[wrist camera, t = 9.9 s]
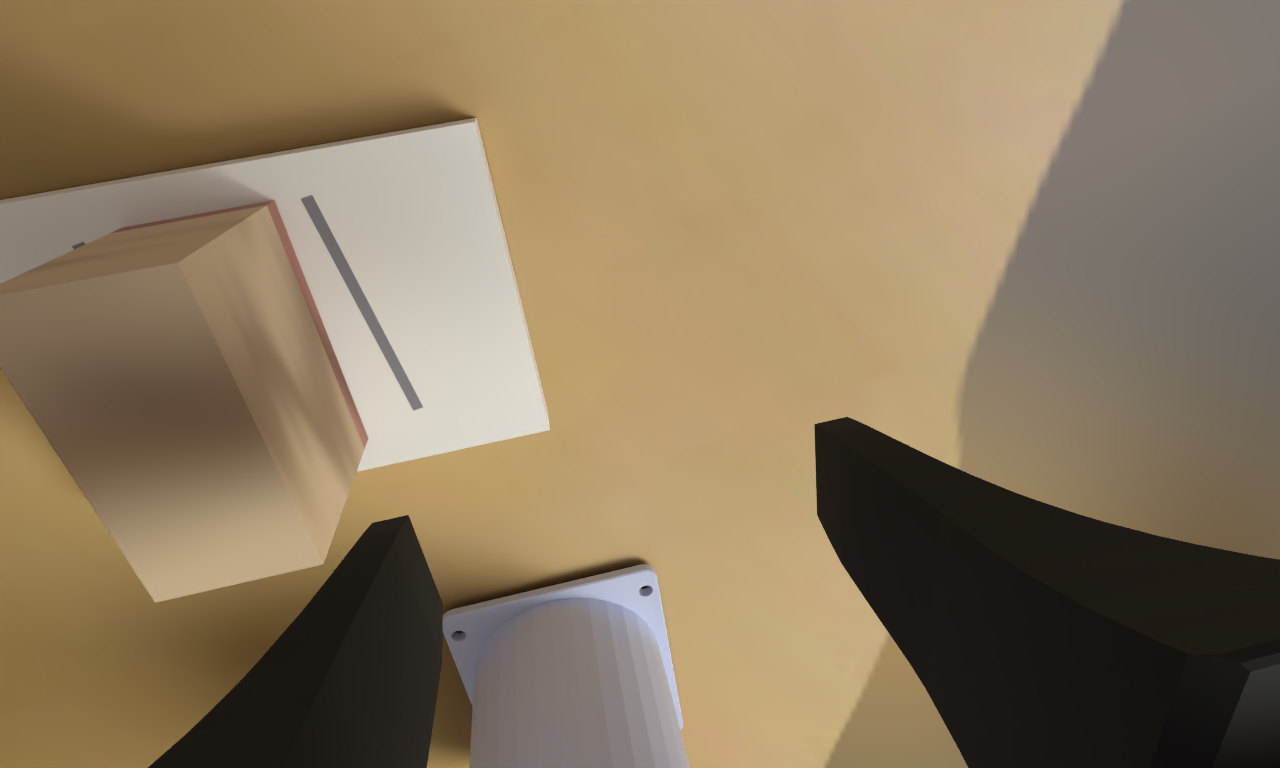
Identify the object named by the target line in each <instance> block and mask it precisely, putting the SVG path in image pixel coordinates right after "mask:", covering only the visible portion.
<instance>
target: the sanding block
mask: <svg viewBox="0 0 1280 768" xmlns="http://www.w3.org/2000/svg"><path fill="white" fill-rule="evenodd" d="M0 368H1V369H2V371H3V372H4V374H5V375H6V377H7V378H8V380H9V381H10V383H11V384H12V386H13V387H14V389H15V390H16V392H17V394H18V395H19V397H20V398H21V400H22V401H23V403H24V404H25V406H26V407H27V409H28V410H29V412H30V413H31V415H32V416H33V418H34V419H35V421H36V422H37V424H38V425H39V427H40V428H41V430H42V432H43V433H44V435H45V436H46V438H47V439H48V441H49V442H50V444H51V445H52V447H53V448H54V450H55V451H56V453H57V454H58V456H59V457H60V459H61V460H62V462H63V463H64V465H65V466H66V468H67V469H68V471H69V473H70V474H71V476H72V477H73V479H74V480H75V482H76V483H77V485H78V486H79V488H80V489H81V491H82V492H83V494H84V495H85V497H86V498H87V500H88V501H89V503H90V504H91V506H92V507H93V509H94V511H95V512H96V514H97V515H98V517H99V518H100V520H101V521H102V523H103V524H104V526H105V527H106V529H107V530H108V532H109V533H110V535H111V536H112V538H113V539H114V541H115V542H116V544H117V545H118V547H119V549H120V550H121V552H122V553H123V555H124V556H125V558H126V559H127V561H128V562H129V564H130V565H131V567H132V568H133V570H134V571H135V573H136V574H137V576H138V577H139V579H140V580H141V582H142V583H143V585H144V586H145V588H146V590H147V591H148V593H149V594H150V596H151V597H152V599H153V600H154V602H155V603H156V602H160V601H165V600H169V599H174V598H178V597H182V596H187V595H191V594H196V593H200V592H204V591H209V590H213V589H218V588H222V587H226V586H231V585H235V584H240V583H244V582H248V581H253V580H257V579H262V578H266V577H270V576H275V575H279V574H284V573H288V572H292V571H297V570H301V569H306V568H310V567H314V566H319V565H323V564H324V561H325V558H326V556H327V553H328V550H329V547H330V544H331V542H332V539H333V536H334V533H335V530H336V528H337V525H338V522H339V519H340V517H341V514H342V511H343V508H344V505H345V503H346V500H347V497H348V494H349V491H350V489H351V486H352V483H353V480H354V477H355V475H356V472H357V469H358V466H359V463H360V461H361V458H362V455H363V452H364V449H365V447H366V444H367V441H368V436H367V433H366V431H365V428H364V426H363V423H362V421H361V418H360V416H359V413H358V411H357V408H356V406H355V403H354V401H353V398H352V395H351V393H350V390H349V388H348V385H347V383H346V380H345V378H344V375H343V373H342V370H341V368H340V365H339V363H338V360H337V357H336V355H335V352H334V350H333V347H332V345H331V342H330V340H329V337H328V335H327V332H326V330H325V327H324V325H323V322H322V319H321V317H320V314H319V312H318V309H317V307H316V304H315V302H314V299H313V297H312V294H311V292H310V289H309V287H308V284H307V281H306V279H305V276H304V274H303V271H302V269H301V266H300V264H299V261H298V259H297V256H296V254H295V251H294V249H293V246H292V243H291V241H290V238H289V236H288V233H287V231H286V228H285V226H284V223H283V221H282V218H281V216H280V213H279V211H278V208H277V205H276V203H275V200H273V201H268V202H262V203H256V204H251V205H245V206H240V207H234V208H228V209H223V210H217V211H212V212H206V213H201V214H195V215H189V216H184V217H178V218H173V219H167V220H161V221H156V222H150V223H145V224H139V225H134V226H128V227H122V228H120V229H118V230H116V231H114V232H111V233H109V234H107V235H105V236H103V237H101V238H98V239H96V240H94V241H92V242H90V243H88V244H85V245H83V246H81V247H79V248H77V249H75V250H72V251H70V252H68V253H66V254H64V255H62V256H59V257H57V258H55V259H53V260H51V261H49V262H46V263H44V264H42V265H40V266H38V267H36V268H33V269H31V270H29V271H27V272H25V273H23V274H20V275H18V276H16V277H14V278H12V279H10V280H7V281H5V282H3V283H1V284H0Z"/></svg>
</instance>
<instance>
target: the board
mask: <svg viewBox="0 0 1280 768" xmlns="http://www.w3.org/2000/svg"><path fill="white" fill-rule="evenodd" d="M273 200H275V203H276V205H277V208H278V211H279V213H280V216H281V218H282V221H283V223H284V226H285V228H286V231H287V233H288V236H289V238H290V241H291V243H292V246H293V249H294V251H295V254H296V256H297V259H298V261H299V264H300V266H301V269H302V271H303V274H304V276H305V279H306V281H307V284H308V287H309V289H310V292H311V294H312V297H313V299H314V302H315V304H316V307H317V309H318V312H319V314H320V317H321V319H322V322H323V325H324V327H325V330H326V332H327V335H328V337H329V340H330V342H331V345H332V347H333V350H334V352H335V355H336V357H337V360H338V363H339V365H340V368H341V370H342V373H343V375H344V378H345V380H346V383H347V385H348V388H349V390H350V393H351V395H352V398H353V401H354V403H355V406H356V408H357V411H358V413H359V416H360V418H361V421H362V423H363V426H364V428H365V431H366V433H367V436H368V441H367V444H366V447H365V449H364V452H363V455H362V458H361V461H360V463H359V466H358V469H357V472H358V471H362V470H367V469H372V468H376V467H381V466H385V465H390V464H395V463H399V462H404V461H408V460H413V459H418V458H422V457H427V456H432V455H436V454H441V453H445V452H450V451H455V450H459V449H464V448H469V447H473V446H478V445H482V444H487V443H492V442H496V441H501V440H505V439H510V438H515V437H519V436H524V435H529V434H533V433H538V432H542V431H547V430H550V427H549V418H548V410H547V406H546V402H545V398H544V394H543V390H542V386H541V381H540V377H539V373H538V369H537V365H536V361H535V357H534V353H533V348H532V344H531V340H530V336H529V332H528V328H527V324H526V320H525V316H524V311H523V307H522V303H521V299H520V295H519V291H518V287H517V283H516V278H515V274H514V270H513V266H512V262H511V258H510V254H509V250H508V245H507V241H506V237H505V233H504V229H503V225H502V221H501V217H500V212H499V208H498V204H497V200H496V196H495V192H494V188H493V184H492V179H491V175H490V171H489V167H488V163H487V159H486V155H485V151H484V147H483V142H482V138H481V134H480V130H479V126H478V122H477V118H471V119H465V120H459V121H454V122H448V123H442V124H436V125H430V126H425V127H419V128H413V129H407V130H402V131H396V132H390V133H384V134H378V135H373V136H367V137H361V138H355V139H350V140H344V141H338V142H332V143H327V144H321V145H315V146H309V147H303V148H298V149H292V150H286V151H280V152H275V153H269V154H263V155H257V156H252V157H246V158H240V159H234V160H228V161H223V162H217V163H211V164H205V165H200V166H194V167H188V168H182V169H177V170H171V171H165V172H159V173H153V174H148V175H142V176H136V177H130V178H125V179H119V180H113V181H107V182H101V183H96V184H90V185H84V186H78V187H73V188H67V189H61V190H55V191H50V192H44V193H38V194H32V195H26V196H21V197H15V198H9V199H3V200H0V284H1V283H3V282H5V281H7V280H10V279H12V278H14V277H16V276H18V275H20V274H23V273H25V272H27V271H29V270H31V269H33V268H36V267H38V266H40V265H42V264H44V263H46V262H49V261H51V260H53V259H55V258H57V257H59V256H62V255H64V254H66V253H68V252H70V251H72V250H75V249H77V248H79V247H81V246H83V245H85V244H88V243H90V242H92V241H94V240H96V239H98V238H101V237H103V236H105V235H107V234H109V233H111V232H114V231H116V230H118V229H120V228H122V227H128V226H134V225H139V224H145V223H150V222H156V221H161V220H167V219H173V218H178V217H184V216H189V215H195V214H201V213H206V212H212V211H217V210H223V209H228V208H234V207H240V206H245V205H251V204H256V203H262V202H268V201H273Z"/></svg>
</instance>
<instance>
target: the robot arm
mask: <svg viewBox="0 0 1280 768" xmlns="http://www.w3.org/2000/svg"><path fill="white" fill-rule="evenodd" d="M815 454H816V488H817V515H818V517H819V520H820V522H821V524H822V526H823V528H824V530H825V532H826V534H827V536H828V538H829V540H830V542H831V544H832V546H833V548H834V550H835V552H836V554H837V556H838V558H839V559H840V561H841V563H842V565H843V566H844V568H845V569H846V571H847V572H848V574H849V575H850V577H851V578H852V580H853V581H854V583H855V584H856V585H857V587H858V588H859V590H860V591H861V593H862V594H863V596H864V597H865V599H866V600H867V602H868V603H869V605H870V606H871V608H872V609H873V610H874V612H875V613H876V615H877V616H878V618H879V619H880V621H881V622H882V624H883V625H884V626H885V628H886V629H887V631H888V632H889V634H890V635H891V637H892V638H893V640H894V641H895V642H896V644H897V645H898V647H899V648H900V650H901V651H902V653H903V654H904V655H905V657H906V658H907V660H908V661H909V663H910V664H911V666H912V667H913V669H914V671H915V672H916V674H917V675H918V677H919V679H920V680H921V682H922V683H923V685H924V687H925V688H926V690H927V692H928V693H929V695H930V697H931V699H932V701H933V702H934V704H935V706H936V708H937V710H938V712H939V714H940V715H941V717H942V719H943V721H944V722H945V725H946V726H947V728H948V730H949V732H950V734H951V735H952V737H953V739H954V741H955V743H956V744H957V747H958V748H959V750H960V752H961V754H962V756H963V758H964V760H965V762H966V764H967V766H968V767H969V768H1280V560H1279V559H1278V560H1277V559H1271V558H1265V557H1258V556H1253V555H1248V554H1243V553H1237V552H1232V551H1227V550H1222V549H1217V548H1211V547H1207V546H1201V545H1196V544H1192V543H1187V542H1183V541H1178V540H1174V539H1169V538H1165V537H1160V536H1156V535H1152V534H1148V533H1145V532H1141V531H1137V530H1133V529H1129V528H1125V527H1122V526H1118V525H1114V524H1110V523H1106V522H1103V521H1099V520H1096V519H1093V518H1089V517H1086V516H1082V515H1079V514H1076V513H1073V512H1070V511H1067V510H1064V509H1061V508H1058V507H1055V506H1052V505H1049V504H1046V503H1042V502H1040V501H1037V500H1034V499H1031V498H1028V497H1025V496H1023V495H1020V494H1017V493H1014V492H1012V491H1009V490H1006V489H1004V488H1002V487H1000V486H997V485H995V484H992V483H990V482H987V481H985V480H982V479H980V478H977V477H975V476H972V475H970V474H968V473H966V472H963V471H961V470H959V469H957V468H954V467H952V466H950V465H948V464H946V463H943V462H941V461H939V460H937V459H935V458H933V457H931V456H928V455H926V454H924V453H922V452H920V451H918V450H916V449H914V448H912V447H910V446H908V445H906V444H904V443H902V442H900V441H897V440H895V439H893V438H891V437H889V436H887V435H885V434H883V433H881V432H879V431H877V430H875V429H873V428H871V427H869V426H867V425H865V424H862V423H860V422H858V421H856V420H853V419H851V418H849V417H845V418H840V419H836V420H831V421H827V422H822V423H818V424H815ZM643 586H649V587H648V588H646V589H640V588H641V587H643ZM456 631H463V633H456ZM442 634H444V636H445V639H446V641H447V644H448V646H449V649H450V652H451V654H452V657H453V659H454V662H455V664H456V667H457V669H458V672H459V674H460V677H461V679H462V682H463V684H464V687H465V689H466V692H467V694H468V697H469V699H470V702H471V704H472V707H473V710H472V728H471V747H470V766H469V768H690V766H689V762H688V758H687V754H686V750H685V746H684V742H683V738H682V734H681V729H682V727H683V720H682V715H681V709H680V704H679V698H678V692H677V687H676V681H675V676H674V670H673V664H672V659H671V653H670V648H669V642H668V636H667V631H666V625H665V620H664V614H663V609H662V603H661V597H660V592H659V586H658V581H657V576H656V572H655V570H654V568H653V567H652V566H650V565H647V564H642V565H637V566H633V567H628V568H624V569H620V570H616V571H612V572H607V573H603V574H599V575H595V576H590V577H586V578H582V579H578V580H574V581H569V582H565V583H561V584H557V585H553V586H548V587H544V588H540V589H536V590H531V591H527V592H523V593H519V594H515V595H510V596H506V597H502V598H498V599H494V600H489V601H485V602H481V603H477V604H472V605H468V606H464V607H460V608H456V609H452V610H449V611H447V612H446V613H445V614H444V615H443V612H442V601H441V598H440V596H439V593H438V591H437V588H436V585H435V583H434V580H433V578H432V575H431V572H430V570H429V567H428V565H427V562H426V559H425V557H424V554H423V552H422V549H421V547H420V544H419V541H418V539H417V536H416V534H415V531H414V528H413V526H412V523H411V521H410V518H409V516H408V515H407V516H402V517H398V518H393V519H389V520H384V521H380V522H375V523H372V524H371V525H370V526H369V527H368V529H367V530H366V531H365V532H364V533H363V535H362V536H361V537H360V538H359V540H358V541H357V542H356V544H355V545H354V546H353V547H352V549H351V550H350V551H349V553H348V554H347V555H346V556H345V558H344V559H343V560H342V562H341V563H340V564H339V566H338V567H337V568H336V569H335V571H334V572H333V573H332V575H331V576H330V577H329V578H328V580H327V581H326V582H325V583H324V585H323V586H322V587H321V588H320V590H319V591H318V592H317V593H316V595H315V596H314V597H313V598H312V600H311V601H310V602H309V603H308V605H307V606H306V607H305V608H304V610H303V611H302V612H301V613H300V614H299V616H298V617H297V618H296V619H295V620H294V621H293V623H292V624H291V625H290V626H289V627H288V628H287V629H286V631H285V632H284V633H283V634H282V635H281V636H280V637H279V639H278V640H277V641H276V642H275V643H274V644H273V645H272V647H271V648H270V649H269V650H268V651H267V652H266V653H265V655H264V656H263V657H262V658H261V659H260V660H259V661H258V663H257V664H256V665H255V666H254V667H253V668H252V669H251V670H250V671H249V672H248V673H247V674H246V676H245V677H244V678H243V679H242V680H241V681H240V682H239V683H238V684H237V685H236V686H235V687H234V688H233V689H232V690H231V691H230V692H229V693H228V694H227V695H226V696H225V697H224V698H223V699H222V700H221V701H220V702H219V703H218V704H217V705H216V706H215V707H214V708H213V709H212V710H211V711H210V712H209V713H208V714H207V715H206V716H205V717H204V718H203V719H202V720H201V721H200V722H199V723H198V724H196V725H195V726H194V727H193V728H192V729H191V730H190V731H189V732H188V733H187V734H186V735H185V736H184V737H182V738H181V739H180V740H179V741H178V742H177V743H176V744H174V745H173V746H172V747H171V748H170V749H169V750H168V751H166V752H165V753H164V754H163V755H162V756H161V757H160V758H159V759H157V760H156V761H155V762H154V763H153V764H152V765H151V766H149V767H148V768H426V767H427V761H428V754H429V747H430V740H431V733H432V727H433V720H434V713H435V706H436V699H437V692H438V685H439V677H440V670H441V662H442Z"/></svg>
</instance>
